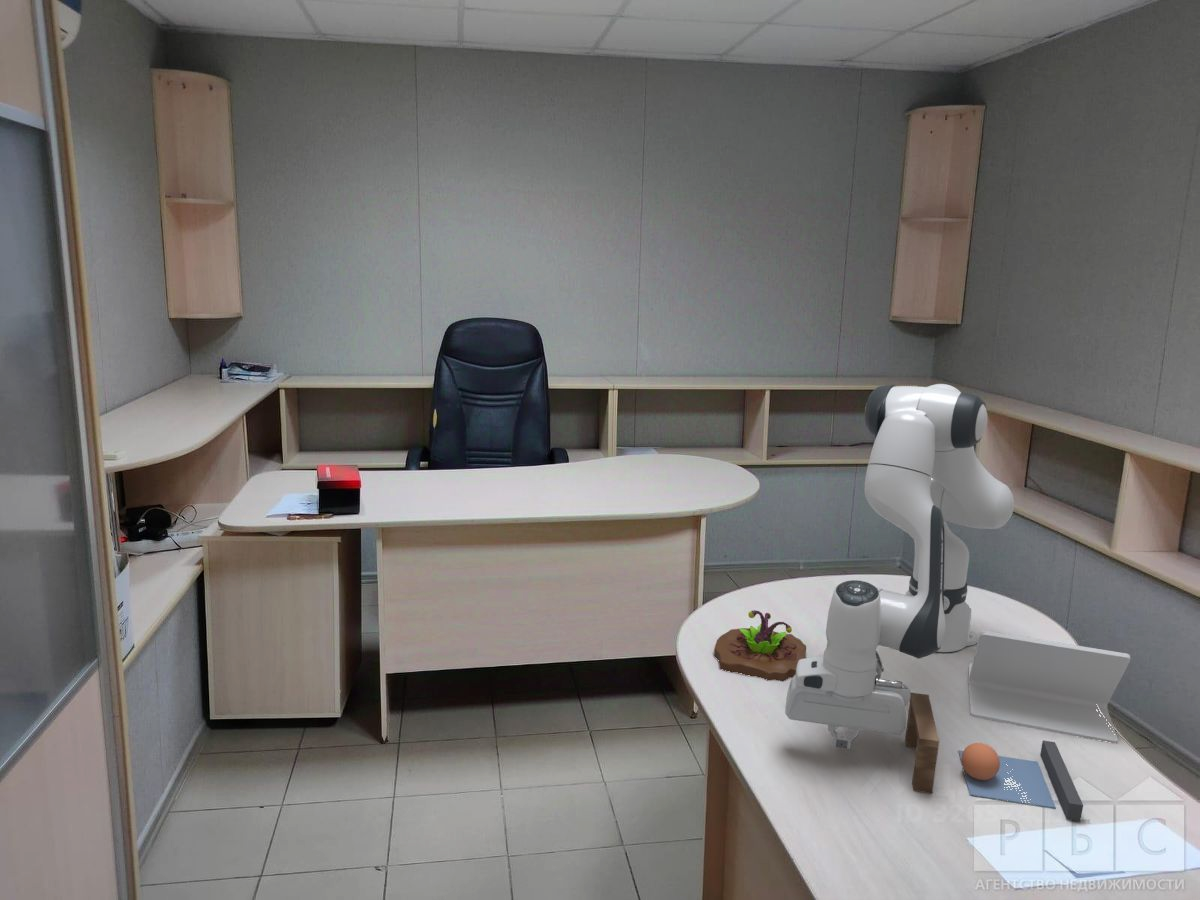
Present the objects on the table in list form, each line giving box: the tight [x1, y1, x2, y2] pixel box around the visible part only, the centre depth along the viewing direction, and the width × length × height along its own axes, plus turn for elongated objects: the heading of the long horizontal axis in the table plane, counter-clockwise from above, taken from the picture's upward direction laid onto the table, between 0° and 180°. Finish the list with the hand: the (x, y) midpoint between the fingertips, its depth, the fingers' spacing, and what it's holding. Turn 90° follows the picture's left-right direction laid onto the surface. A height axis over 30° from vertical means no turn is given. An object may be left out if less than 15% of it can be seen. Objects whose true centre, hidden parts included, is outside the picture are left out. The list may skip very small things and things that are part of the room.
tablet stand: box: [967, 630, 1131, 744], centre depth 173 cm, size 18×25×17 cm
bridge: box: [904, 691, 940, 794], centre depth 154 cm, size 3×15×10 cm, turn 167°
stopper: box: [1039, 740, 1084, 823], centre depth 150 cm, size 18×2×3 cm, turn 167°
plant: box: [713, 609, 807, 682], centre depth 191 cm, size 20×20×11 cm
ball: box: [960, 742, 1000, 780], centre depth 152 cm, size 6×6×6 cm
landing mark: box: [958, 749, 1057, 810], centre depth 152 cm, size 13×13×1 cm
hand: (841, 746), depth 157 cm, fingers closed
